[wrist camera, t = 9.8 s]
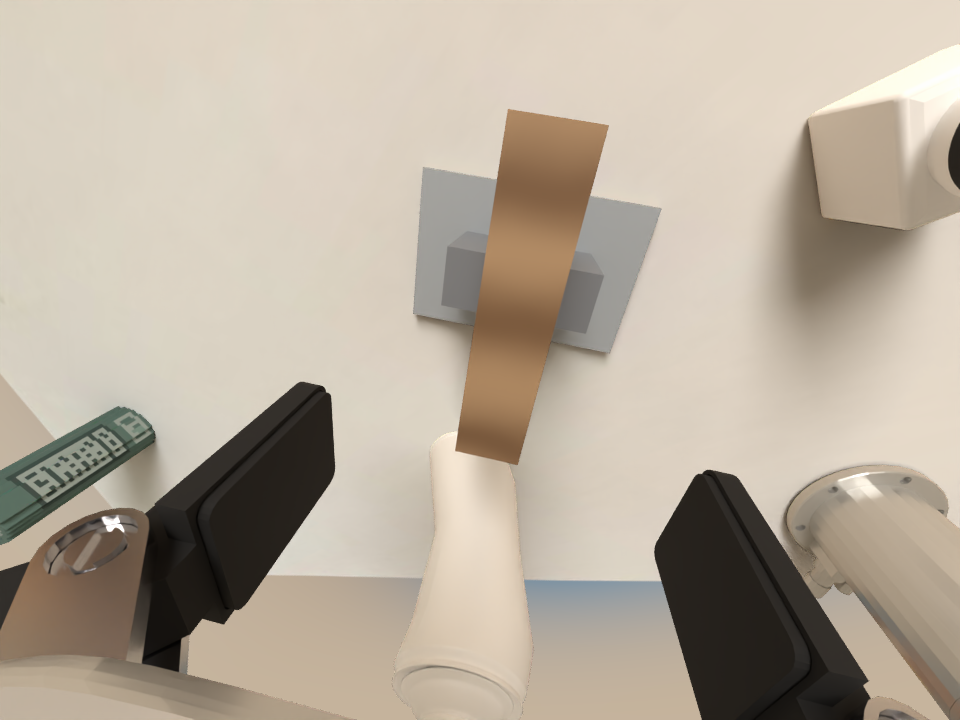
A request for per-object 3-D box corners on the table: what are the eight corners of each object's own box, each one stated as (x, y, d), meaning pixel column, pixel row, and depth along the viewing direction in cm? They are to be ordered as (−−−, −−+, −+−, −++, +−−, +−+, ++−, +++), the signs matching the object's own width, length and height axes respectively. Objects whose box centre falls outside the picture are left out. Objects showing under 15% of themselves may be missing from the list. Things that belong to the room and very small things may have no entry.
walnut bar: (522, 410, 28) (517, 465, 23) (471, 399, 28) (455, 451, 23) (590, 138, 19) (608, 125, 14) (517, 126, 20) (507, 109, 14)
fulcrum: (607, 348, 33) (625, 395, 26) (416, 310, 34) (383, 345, 27) (657, 207, 27) (697, 218, 20) (426, 167, 29) (388, 165, 22)
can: (101, 415, 48) (-68, 507, 35) (127, 401, 46) (-41, 493, 33) (136, 449, 50) (-10, 548, 37) (163, 437, 48) (19, 537, 35)
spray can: (510, 414, 38) (467, 745, 16) (547, 486, 42) (553, 836, 20) (417, 441, 42) (277, 742, 20) (458, 506, 45) (380, 819, 23)
